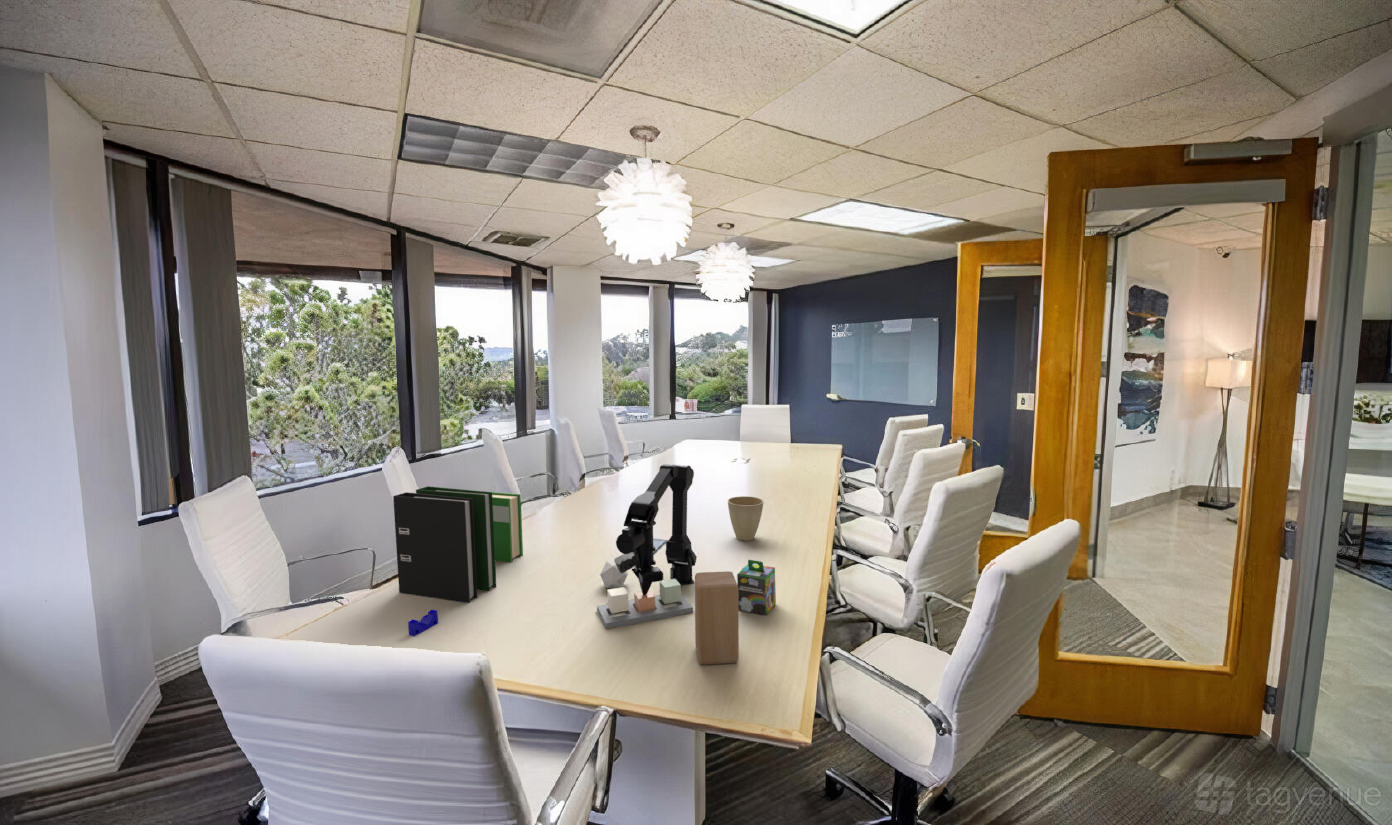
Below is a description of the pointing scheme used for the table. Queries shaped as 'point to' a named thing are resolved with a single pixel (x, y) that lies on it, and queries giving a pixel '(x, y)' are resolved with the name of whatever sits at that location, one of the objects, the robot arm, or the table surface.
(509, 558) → the hardback book
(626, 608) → the plunger cream
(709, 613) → the block
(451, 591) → the ring binders
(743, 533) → the plant pot
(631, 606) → the grey slotted board
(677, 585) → the plunger sage
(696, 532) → the table surface
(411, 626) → the cable holder
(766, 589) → the chalk box
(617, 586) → the die
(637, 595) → the salmon pink cube
